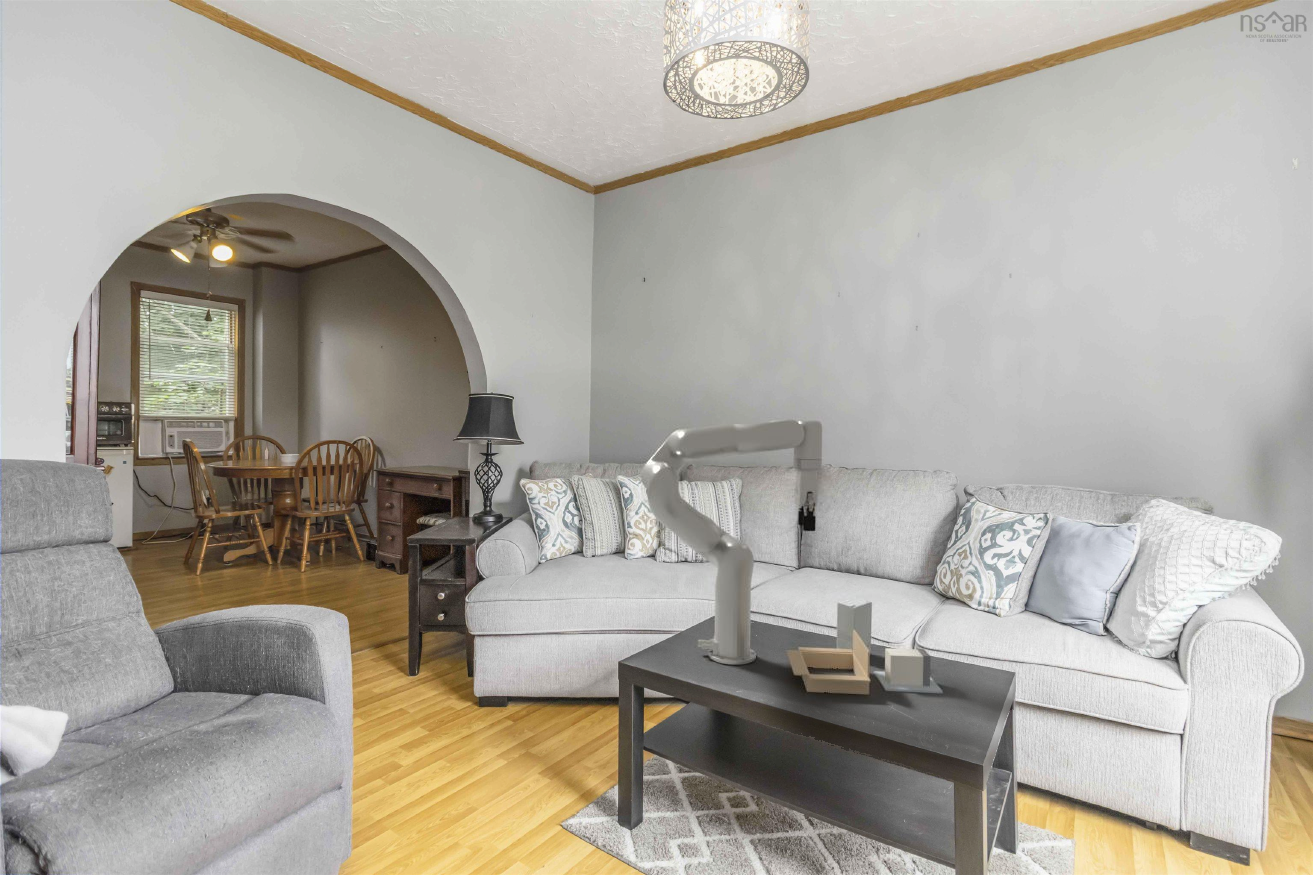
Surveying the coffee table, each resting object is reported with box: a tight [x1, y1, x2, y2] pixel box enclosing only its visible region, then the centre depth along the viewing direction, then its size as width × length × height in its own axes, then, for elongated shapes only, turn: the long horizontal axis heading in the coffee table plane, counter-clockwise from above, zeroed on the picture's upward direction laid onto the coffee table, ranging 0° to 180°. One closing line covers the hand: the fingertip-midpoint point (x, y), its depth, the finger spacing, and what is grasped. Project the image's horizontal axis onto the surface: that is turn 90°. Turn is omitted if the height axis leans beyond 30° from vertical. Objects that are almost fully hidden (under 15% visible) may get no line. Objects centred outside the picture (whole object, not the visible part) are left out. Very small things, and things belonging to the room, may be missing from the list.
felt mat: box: [873, 670, 943, 694], centre depth 160 cm, size 13×11×1 cm
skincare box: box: [835, 596, 873, 655], centre depth 179 cm, size 8×6×15 cm
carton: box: [786, 630, 871, 695], centre depth 162 cm, size 17×21×10 cm
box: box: [884, 647, 932, 686], centre depth 160 cm, size 9×5×7 cm, turn 85°
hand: (806, 527), depth 180 cm, fingers open, 9 cm apart
